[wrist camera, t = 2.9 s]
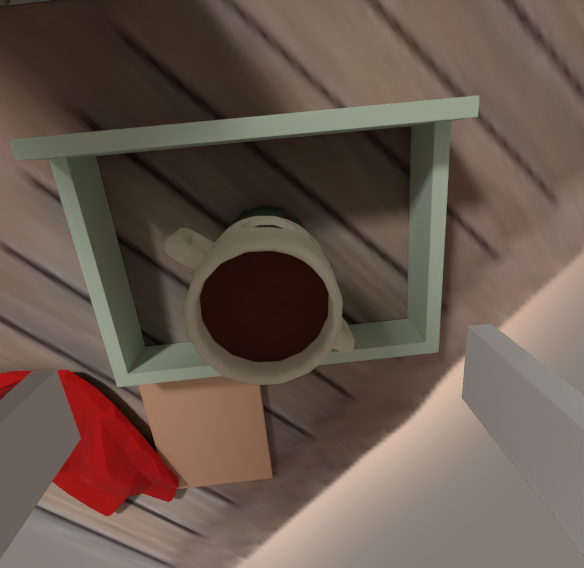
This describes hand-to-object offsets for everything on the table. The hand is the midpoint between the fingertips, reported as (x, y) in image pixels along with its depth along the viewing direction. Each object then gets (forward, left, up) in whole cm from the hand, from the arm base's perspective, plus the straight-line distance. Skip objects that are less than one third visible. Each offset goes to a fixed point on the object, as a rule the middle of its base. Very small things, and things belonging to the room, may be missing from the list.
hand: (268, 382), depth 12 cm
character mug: (0, 0, -18) cm, 18 cm away
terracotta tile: (-7, -16, -17) cm, 25 cm away
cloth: (-21, -14, -17) cm, 31 cm away
